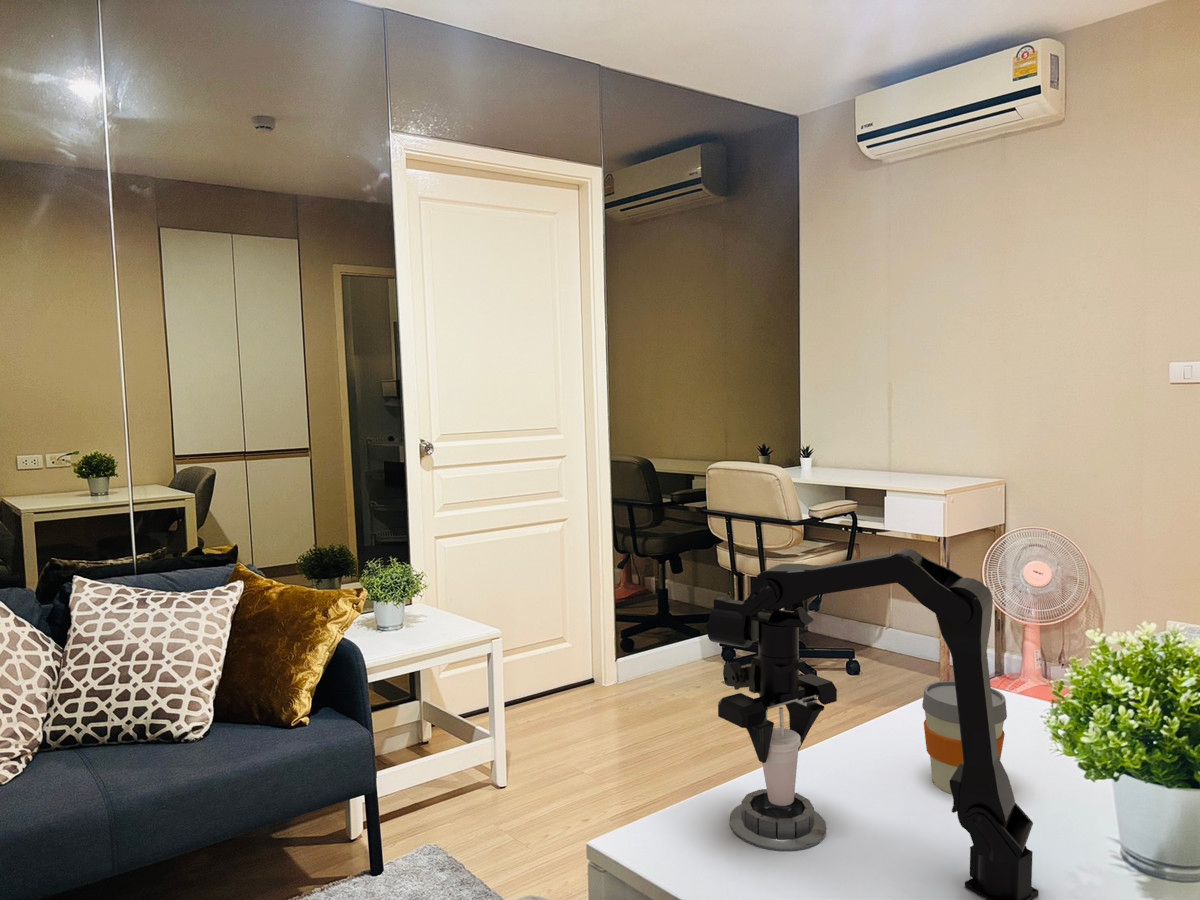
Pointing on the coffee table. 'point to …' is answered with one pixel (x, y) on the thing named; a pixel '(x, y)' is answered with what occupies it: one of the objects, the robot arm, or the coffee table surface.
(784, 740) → the smoothie
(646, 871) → the coffee table surface
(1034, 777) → the coffee table surface
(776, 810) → the mount
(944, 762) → the reusable coffee cup
